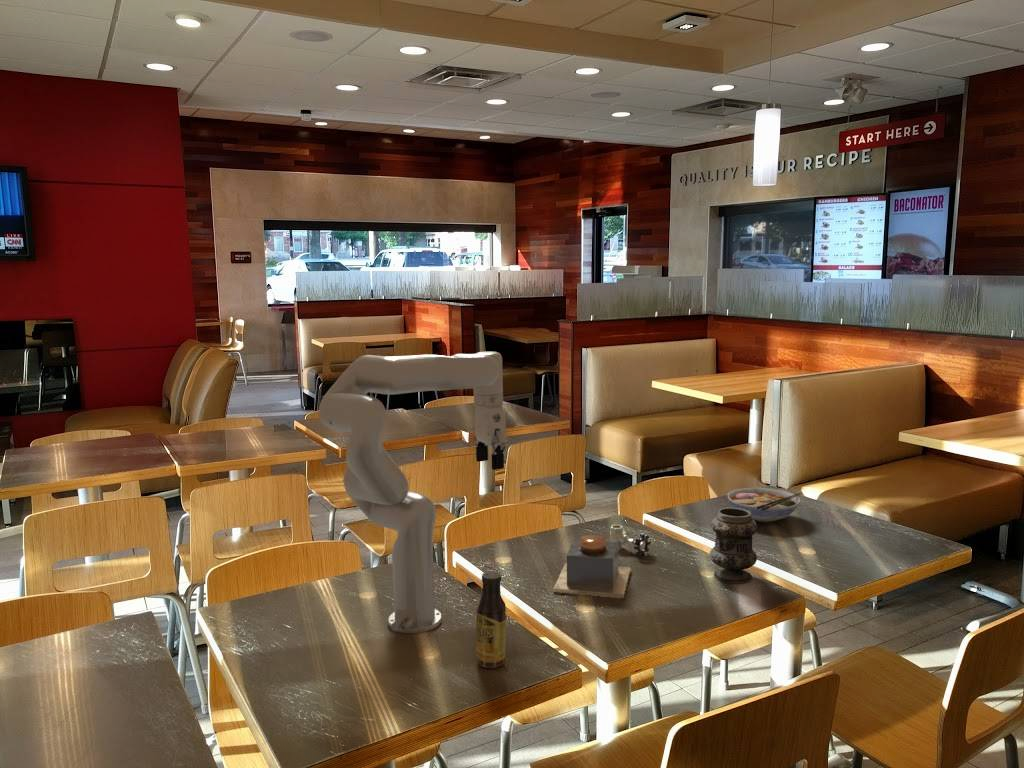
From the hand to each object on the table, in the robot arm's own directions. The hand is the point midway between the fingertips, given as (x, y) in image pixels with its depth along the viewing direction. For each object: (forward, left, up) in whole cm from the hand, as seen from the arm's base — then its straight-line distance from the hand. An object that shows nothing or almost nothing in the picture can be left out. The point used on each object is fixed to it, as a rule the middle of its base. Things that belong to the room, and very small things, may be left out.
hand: (489, 464), depth 203 cm
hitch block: (+6, -26, -32) cm, 42 cm away
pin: (+6, -26, -30) cm, 40 cm away
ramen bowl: (+68, -73, -33) cm, 105 cm away
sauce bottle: (-41, -11, -32) cm, 53 cm away
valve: (+31, -33, -33) cm, 55 cm away
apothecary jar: (+17, -62, -32) cm, 72 cm away
